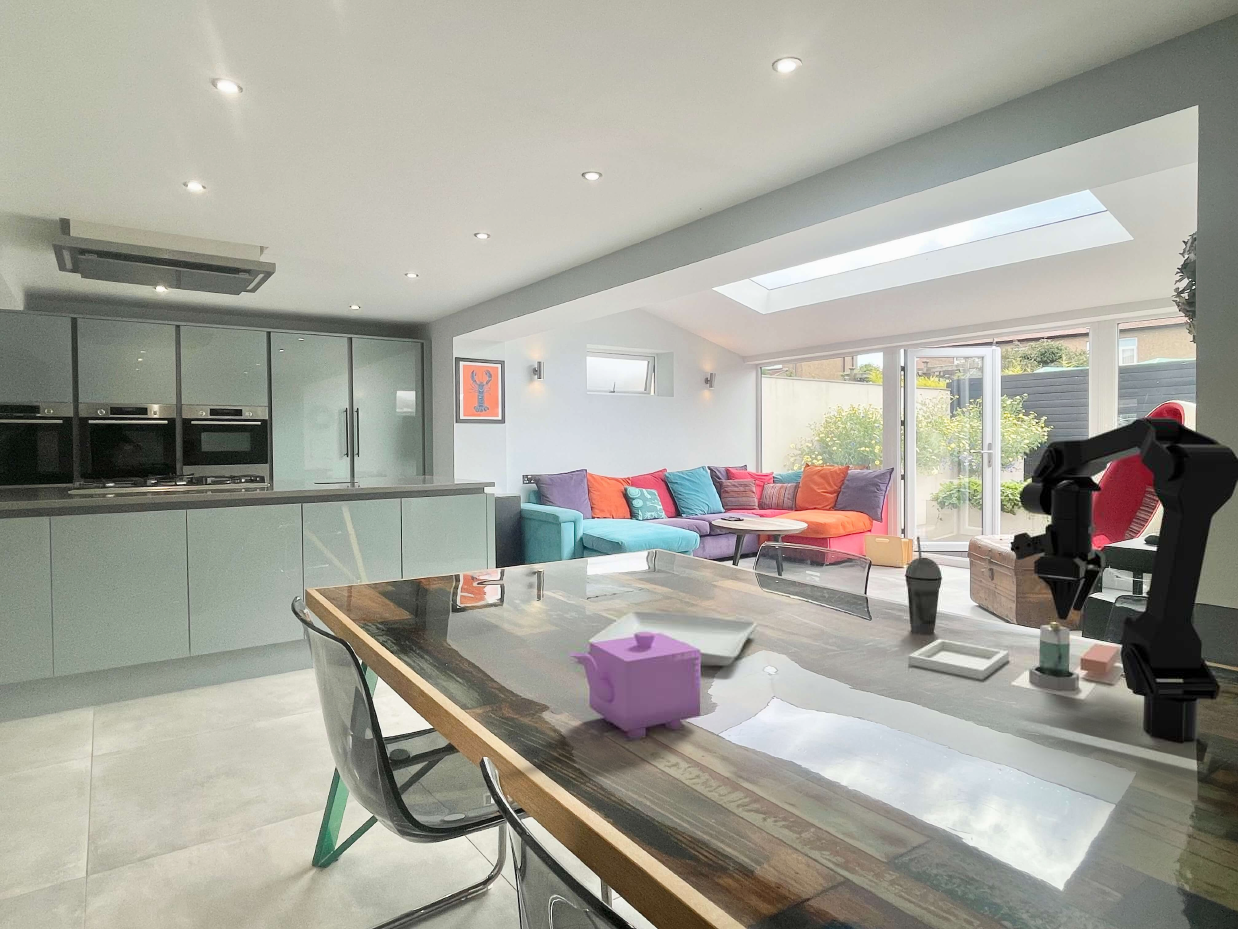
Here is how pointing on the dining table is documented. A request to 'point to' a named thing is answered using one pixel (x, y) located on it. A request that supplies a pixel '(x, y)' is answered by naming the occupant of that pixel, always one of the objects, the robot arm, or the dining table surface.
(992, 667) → the white rectangular tray
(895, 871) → the dining table surface
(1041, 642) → the silver cell
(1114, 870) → the dining table surface
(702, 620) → the square plate
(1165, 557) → the robot arm
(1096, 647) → the bar
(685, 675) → the teapot
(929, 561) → the beverage cup
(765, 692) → the dining table surface
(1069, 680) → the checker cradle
